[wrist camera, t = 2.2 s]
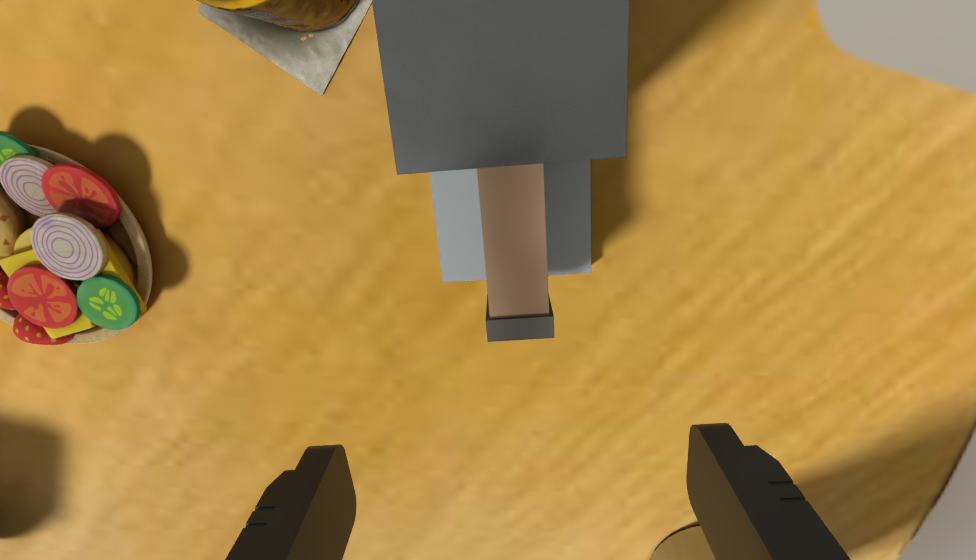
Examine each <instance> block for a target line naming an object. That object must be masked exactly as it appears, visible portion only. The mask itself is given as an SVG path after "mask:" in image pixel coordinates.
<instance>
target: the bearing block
mask: <svg viewBox="0 0 976 560" xmlns="http://www.w3.org/2000/svg"><path fill="white" fill-rule="evenodd" d="M372 4H373V11H374V17H375V24H376V31H377V38H378V45H379V52H380V59H381V66H382V73H383V80H384V87H385V94H386V101H387V108H388V115H389V122H390V128H391V135H392V142H393V149H394V156H395V163H396V170H397V175H399V174H412V173H424V172H437V171H450V170H463V169H476V168H489V167H502V166H515V165H528V164H541V163H554V162H567V161H580V160H592V159H605V158H618V157H626V138H627V84H628V29H629V0H372Z"/></svg>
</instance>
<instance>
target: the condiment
mask: <svg viewBox="0 0 976 560" xmlns="http://www.w3.org/2000/svg"><path fill="white" fill-rule="evenodd" d="M197 1H199V2H201V4H200V7H199V9H198V13H200V14H201V15H203V16H204V17H206V18H207V19H209V20H210V21H212V22H214V23H215V24H217V25H218V26H220V27H221V28H223V29H224V30H226V31H227V32H229V33H230V34H232V35H233V36H235V37H236V38H238V39H239V40H241V41H242V42H243V43H245V44H247V45H248V46H250V47H251V48H253V49H254V50H255V51H257V52H258V53H260V54H261V55H263V56H264V57H266V58H267V59H269V60H270V61H273V62H274V63H275V64H276V65H277V66H279V67H280V68H282V69H283V70H285V71H286V72H287V73H289V74H290V75H292V76H293V77H295V78H296V79H298V80H299V81H301V82H302V83H304V84H305V85H306V86H308V87H309V88H311V89H312V90H314V91H315V92H317V93H318V94H319V95H321V96H322V94H323V92H324V90H325V89H326V86H327V84H328V82H329V81H330V79H331V77H332V75H333V74H334V72H335V70H336V67H337V65H338V63H339V62H340V60H341V58H342V56H343V54H344V53H345V51H346V49H347V47H348V45H349V43H350V42H351V40H352V38H353V36H354V34H355V32H356V30H357V29H358V27H359V25H360V23H361V22H362V20H363V18H364V16H365V14H366V12H367V10H368V8H369V7H370V4H371V3H372V0H197ZM309 34H313V35H314V36H313V37H309V36H308V35H309ZM302 37H307V39H306V40H304V41H302V40H300V38H302Z"/></svg>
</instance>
